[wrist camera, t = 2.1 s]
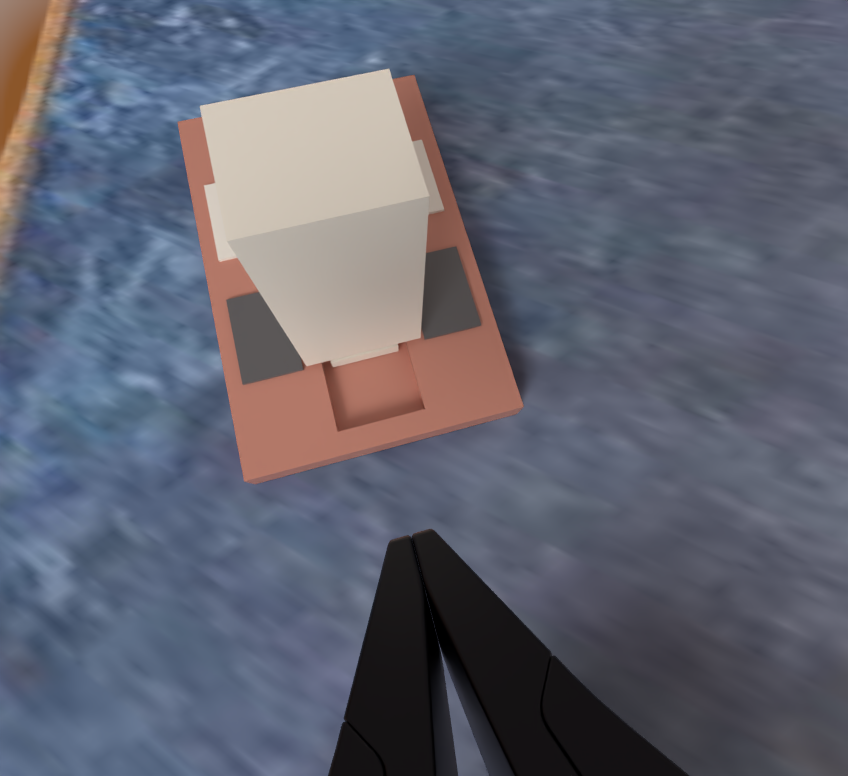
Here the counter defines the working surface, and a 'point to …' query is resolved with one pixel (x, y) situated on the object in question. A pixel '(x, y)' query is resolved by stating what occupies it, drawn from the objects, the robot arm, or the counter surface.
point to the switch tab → (326, 212)
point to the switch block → (363, 380)
